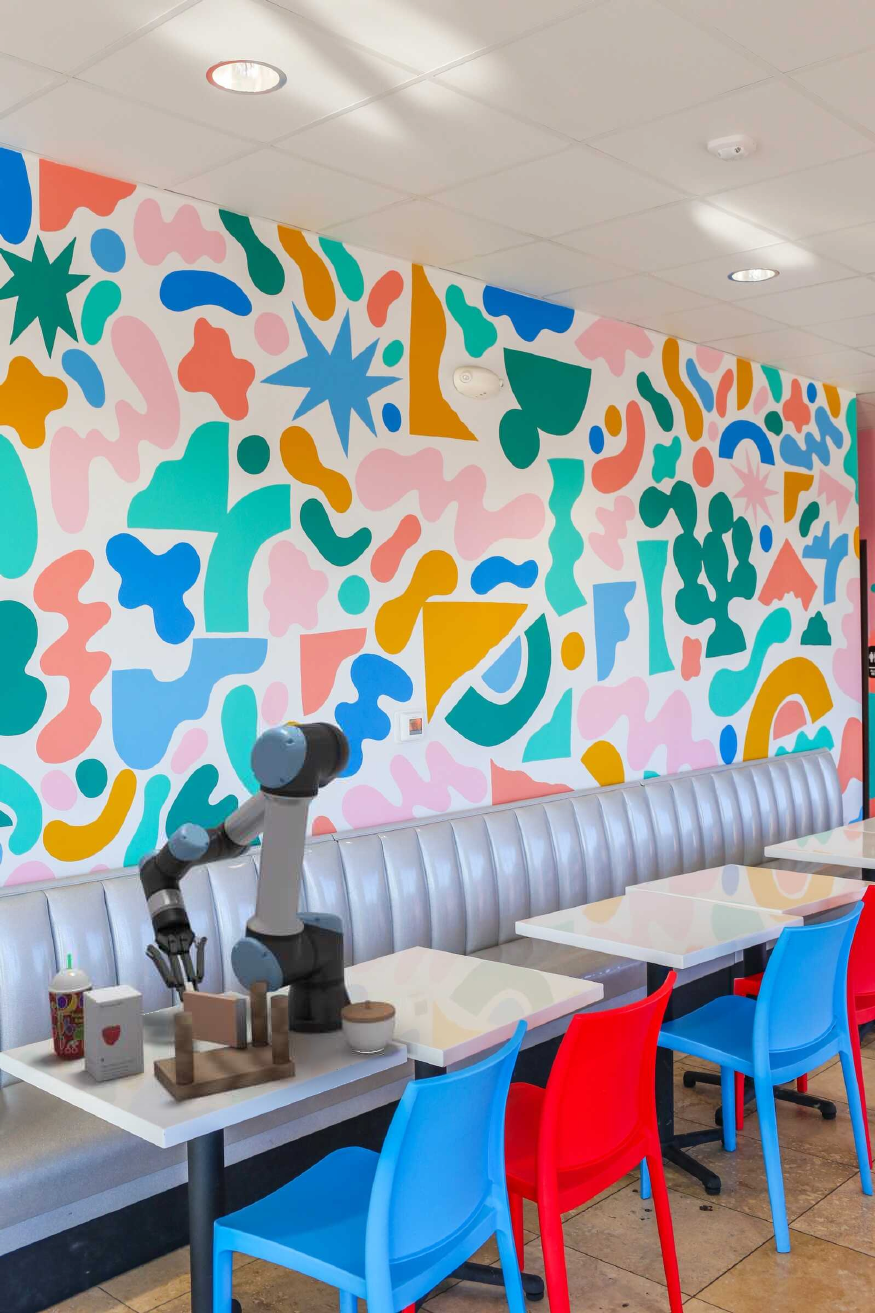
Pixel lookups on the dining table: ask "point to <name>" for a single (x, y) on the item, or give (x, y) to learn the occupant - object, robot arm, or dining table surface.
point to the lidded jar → (368, 1025)
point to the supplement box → (113, 1032)
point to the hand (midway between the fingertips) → (194, 1014)
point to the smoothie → (68, 1011)
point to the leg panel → (217, 1018)
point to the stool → (230, 1053)
